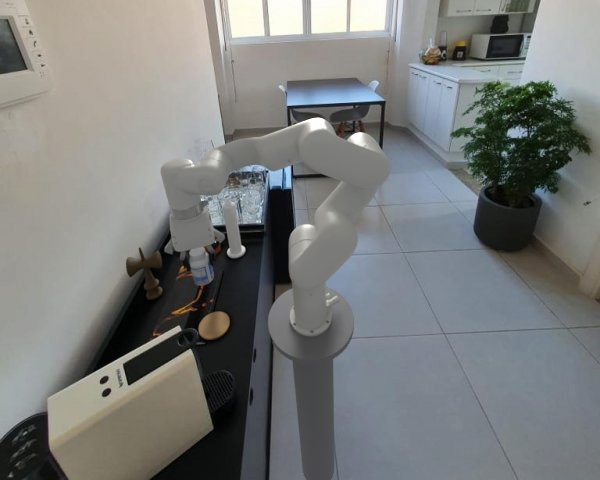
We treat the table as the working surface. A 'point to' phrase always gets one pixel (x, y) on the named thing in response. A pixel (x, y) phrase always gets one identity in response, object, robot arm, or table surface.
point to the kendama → (146, 272)
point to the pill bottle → (200, 266)
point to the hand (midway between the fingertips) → (200, 264)
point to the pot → (215, 250)
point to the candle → (232, 230)
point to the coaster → (214, 325)
